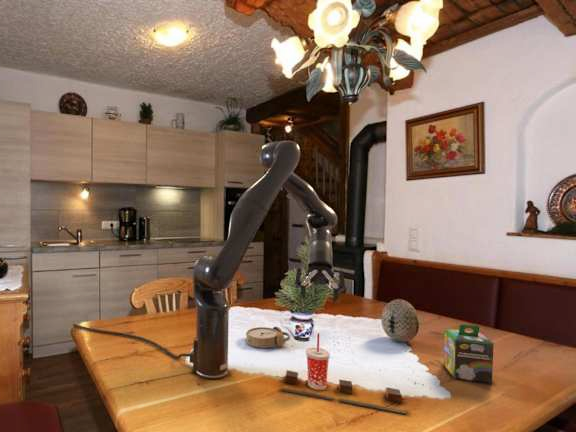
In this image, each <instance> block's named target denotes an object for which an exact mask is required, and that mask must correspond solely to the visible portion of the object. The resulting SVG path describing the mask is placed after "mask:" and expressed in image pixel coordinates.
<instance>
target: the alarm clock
mask: <svg viewBox="0 0 576 432" xmlns="http://www.w3.org/2000/svg"><path fill="white" fill-rule="evenodd" d="M245 335H246V343H247V344H248V345H249V346H251V347H255V348H263V349H264V348H272V347H273V348H274V347H276V346H277V347H278V348H281V347H283V346H284V345H285V342H287V341H289V340H290V339H291V335H290V334H289V333H288V332H286V331H282V329H281V327H278V326H273V327H268V326H267V327H266V326H259V327H258V326H257V327H253V328H250V329H248V330H247V331H246V333H245ZM285 336H286V337H285Z"/></svg>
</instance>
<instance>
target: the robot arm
mask: <svg viewBox="0 0 576 432" xmlns="http://www.w3.org/2000/svg"><path fill="white" fill-rule="evenodd" d="M300 158H301V149H300V146H299V144H298V143H296V142H295V141H293V140H280V141H279V140H278V141H272V142H267V143H265V144H264V145H262V147H261V149H260V152H259V159H260V161H259V162H260V163H261V165H262V167H263V168H264V169H265V171H267V172H266V173H265V174H264V175H263V176H262V177H261V178H260V179H259V180H258V181H256V182H255V183H253V184H252V185H251V186H250V187H249V188H248V189H246V190H245V191H244V192H243V193H242V194H241V196H240V197H239V199H238V201H237V202H236V203H235V206H234V207H233V210H232V212H231V214H230V219H229V226H228V235H227V238H226V240H225V243H224V245H223V247H222V248H221V250H220V252H219V253H218V254H217V255H214V254H204V255H201V256H200V257H199V258H198V259H197V260H196V261H195V264H194V268H193V274H192V275H193V276H192V278H193V279H192V280H193V281H192V283H193V301H194V303H195V306H196V313H195V315H196V316H195V322H196V323H195V338H194V339H193V349H192V351H191V352H190V353H180V354H178V355H176V354H173V353H172V352H171V351H170V350H168V349H167V348H165V347H163V346H162V345H160V344H158V343H157V342H155V341H152V340H150V339H148V338H145V337H142V336H139V335H136V334H135V335H134V334H130V333H124V332H117V331H111V330H104V329H97V328H91V327H86V326H82V325H79V324H76V323H72V326H73V327H76V328H78V329H82V330H87V331H90V332H91V331H92V332H98V333H105V334H112V335H113V334H114V335H118V336H125V337H130V338H134V339H138V340H142V341H145V342H147V343H149V344H152V345H154V346H155V347H157V348H159V349H160V350H162V351H164V352H165V353H166V354H168V355H169V356H170V357H172V358H174V359H180V358H182V357H189V363H190V364H191V363H192V373H193V374H196V375H198V377H201V378H205V379H210V380H214V379H215V380H217V379H221V378H224V377H226V376H227V375H228V373H229V319H230V304H229V302H228V300H227V299H226V297H225V296H224V294H223V292H224V291H225V290H227V289H228V288H230V286H231V285H232V284H233V283H234V281H235V279H236V276H237V274H238V272H239V270H240V267H241V265H242V263H243V260H244V258H245V256H246V253H247V251H248V249H249V247H250V245H251V243H252V242H253V240H254V238H255V236H256V234H257V232H258V230H259V229H260V227H261V225H262V224H263V222H264V220H265V218H266V217H267V215H268V212H269V211H270V208H271V206H272V205H273V203H274V202H275V200H276V198H277V196H278V194H279V193H280V191H281V190H282V188H284V189H285V190H286V191H287V192H288V193H289V195H290V196H291V197H292V199H293V200H294V201H295V203H296V205H297V206H298V207H299V208H300V210H301V211H302V213H303V214H305V215H306V217H305V219H304V220H305V225H306V227H307V230H308V235H309V242H308V243H309V247H308V251H307V268H306V269H301V268H300V267H297V268H296V274H295V281H294V282H295V286H294V287H295V288H297V289H298V288H299V289H300V297H301V299H302V300H303V301H306V297H307V296H306V294H307V289H308V287H310V286H312V285H313V284H314V285H320V286H325V285H326V286H327V287H328V288H330V289H331V290H332V304H336V303H337V302H338V301H339V293H340V292H345V289H346V283H345V274H344V272H345V271H343V270H339V272H338V271H337V272H336V271H334V270H333V267H334V266H333V258H334V256H333V248H332V245H333V243H332V239H333V237H332V233H331V231H330V230H328V229H331V228H334V227H335V226H336V225H337V223H338V216H337V213H336V212H335V211H334V209H332V208H331V206H329V205H327V204H326V203H325V202H324V201H322V200H321V198H320V197H319V195H318V194H317V192H316V191H315V189H314V188H313V187H312V186H311V185H310V184H309V183H308V182H306V181H305V180H304V179H303V178H301V177H300V176H298V174H296V173H295V172H294V171H295V169H296V168H297V166H298V164H299V161H300ZM304 275H305V276H306V278H305V279H304V280H303V281H302V282H301V279H302V278H303V277H304ZM334 277H335V278H336V280H338V281H339V284H337V283H336V282H335V280H334Z"/></svg>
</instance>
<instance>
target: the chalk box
mask: <svg viewBox="0 0 576 432" xmlns="http://www.w3.org/2000/svg"><path fill="white" fill-rule="evenodd" d="M466 329H472V330H466ZM443 337H444V338H443V341H444V343H443V347H444V348H443V353H444V354H443V366H444V367H445V369H446V370H447V371H448V372H449V373H450V375H451V376H452V378H453V379H459V380H465V381H472V382H478V383H483V384H490V385H492V384H493V369H494V368H493V367H494V346H495V343H494V342H493V341H491V340H490V339H489V338H488V337H486V336H485V335H484V334H483V333H482V332H480V326H479V325H475V324H466V323H460V325H459V328H458V329H451V328H450V329H449V328H445V329H444V336H443Z"/></svg>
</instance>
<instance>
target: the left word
mask: <svg viewBox="0 0 576 432" xmlns="http://www.w3.org/2000/svg"><path fill="white" fill-rule="evenodd" d="M298 381H299V372H298V371H294V370H293V371H292V370H286V372H285V383H288V384H293V385H298V383H299V382H298ZM281 392H284V393H289V394H295V395H301V396H305V397H311V398H316V399H321V400H326V401H333V397H331V396H327V395H319V394H316V393H311V392H305V391H299V390H295V389H289V388H281Z"/></svg>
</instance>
